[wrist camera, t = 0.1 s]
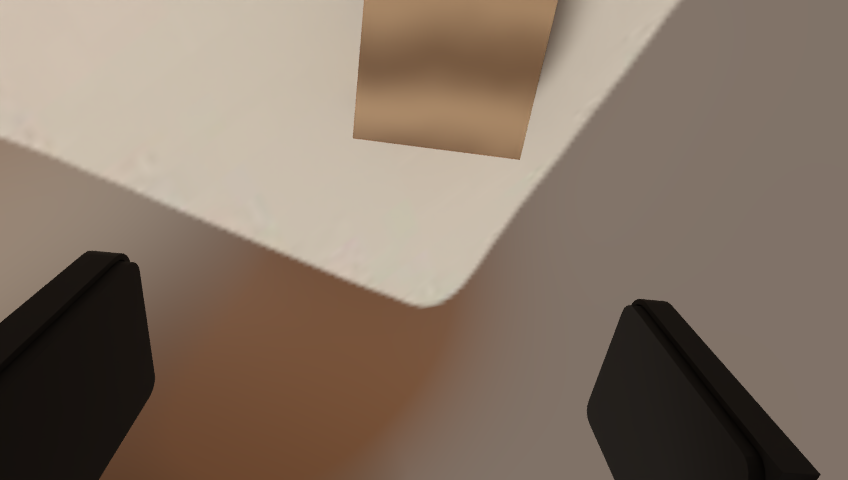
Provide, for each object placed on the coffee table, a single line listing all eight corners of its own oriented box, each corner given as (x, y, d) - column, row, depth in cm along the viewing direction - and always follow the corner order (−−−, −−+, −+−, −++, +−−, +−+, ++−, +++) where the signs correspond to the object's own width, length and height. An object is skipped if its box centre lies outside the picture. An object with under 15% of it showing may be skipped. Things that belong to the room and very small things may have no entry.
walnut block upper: (372, -55, 30) (369, -62, 26) (545, -26, 31) (564, -28, 28) (357, 123, 35) (352, 138, 31) (507, 143, 36) (519, 159, 32)
